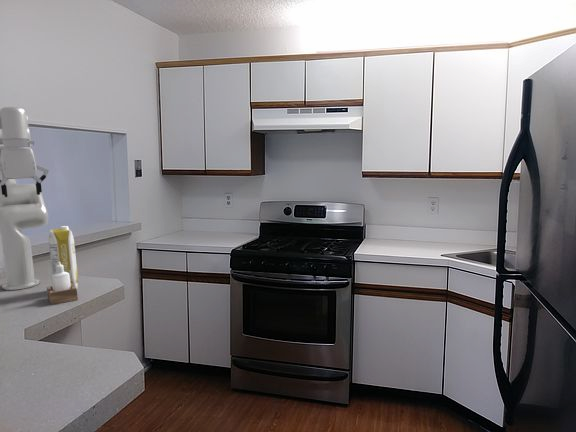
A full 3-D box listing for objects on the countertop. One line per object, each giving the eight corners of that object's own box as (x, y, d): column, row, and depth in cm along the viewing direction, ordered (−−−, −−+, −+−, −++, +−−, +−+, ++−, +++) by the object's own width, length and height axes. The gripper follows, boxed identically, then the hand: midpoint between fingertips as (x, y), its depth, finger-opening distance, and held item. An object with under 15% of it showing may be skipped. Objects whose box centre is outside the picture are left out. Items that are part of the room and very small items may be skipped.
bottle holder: (47, 298, 162) (46, 286, 161) (72, 293, 166) (71, 282, 166) (51, 304, 154) (50, 293, 153) (77, 299, 158) (76, 288, 158)
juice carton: (80, 291, 169) (73, 226, 166) (56, 295, 165) (49, 229, 162) (76, 285, 177) (70, 224, 174) (53, 289, 173) (46, 226, 170)
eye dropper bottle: (70, 296, 159) (67, 262, 158) (52, 298, 157) (49, 264, 156) (72, 292, 163) (68, 259, 162) (54, 295, 161) (50, 261, 160)
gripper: (44, 145, 162) (49, 193, 165) (-15, 146, 153) (-8, 197, 155) (47, 144, 156) (52, 194, 158) (-14, 145, 147) (-7, 198, 149)
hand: (22, 195), depth 157 cm, fingers open, 9 cm apart
